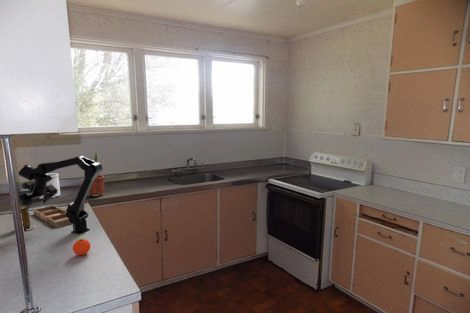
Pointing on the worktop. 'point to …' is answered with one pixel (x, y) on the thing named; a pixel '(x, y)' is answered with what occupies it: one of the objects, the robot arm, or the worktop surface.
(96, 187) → the potted plant
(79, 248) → the clementine
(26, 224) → the condiment
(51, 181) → the utensil holder
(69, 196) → the worktop surface
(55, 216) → the tray
